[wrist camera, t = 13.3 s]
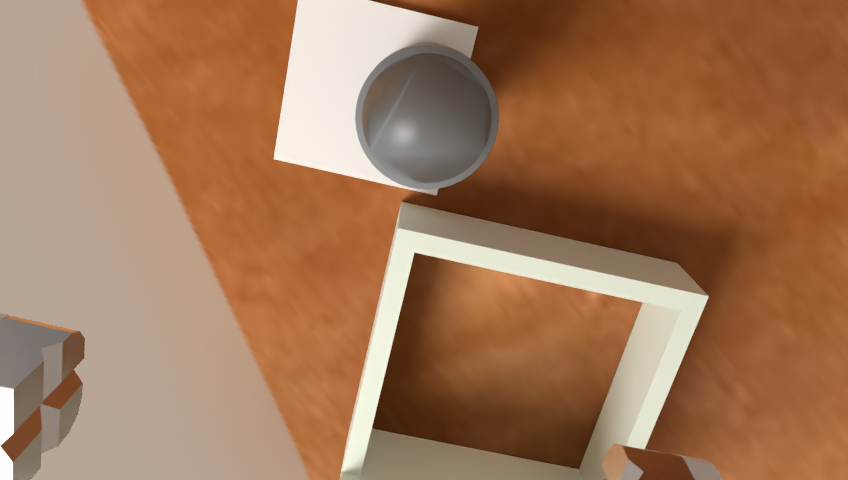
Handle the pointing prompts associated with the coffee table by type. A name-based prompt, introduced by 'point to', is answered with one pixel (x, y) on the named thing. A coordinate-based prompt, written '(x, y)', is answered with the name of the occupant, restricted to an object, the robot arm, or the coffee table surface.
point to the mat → (347, 77)
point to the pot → (426, 116)
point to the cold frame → (544, 260)
